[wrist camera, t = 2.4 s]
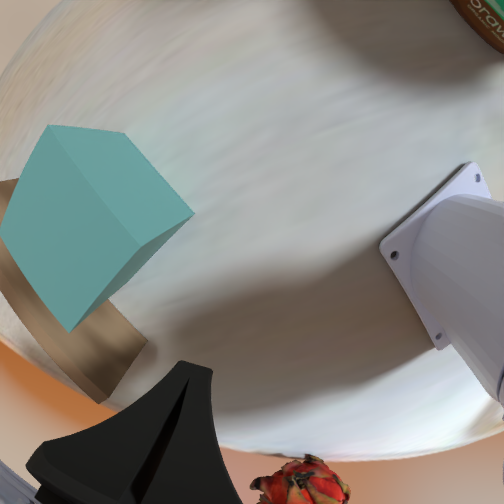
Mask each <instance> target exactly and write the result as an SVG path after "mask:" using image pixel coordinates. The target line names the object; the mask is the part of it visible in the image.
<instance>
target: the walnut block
mask: <svg viewBox="0 0 504 504" xmlns="http://www.w3.org/2000/svg"><path fill="white" fill-rule="evenodd" d="M18 180H19V178H17V179H12V180H6V181H1V182H0V226H1V223H2V221H3V218H4V215H5V212H6V209H7V207H8V204H9V202H10V199H11V197H12V194H13V192H14V189H15V187H16V185H17V182H18ZM0 291H1V292H2V294H3V295H4V297H5V298H6V300H7V301H8V303H9V304H10V306H11V307H12V309H13V310H14V312H15V313H16V315H17V316H18V317H19V319H20V320H21V321H22V323H23V324H24V325H25V327H26V328H27V329H28V331H29V332H30V333H31V334H32V336H33V337H34V338H35V339H36V341H37V342H38V343H39V344H40V346H41V347H42V348H43V349H44V350H45V351H46V353H47V354H48V355H49V356H50V357H51V358H52V359H53V360H54V362H55V363H56V364H57V365H58V366H59V367H60V368H61V369H62V370H63V371H64V372H65V373H66V374H67V375H68V376H69V377H70V378H71V379H72V380H73V381H74V382H75V383H76V384H77V385H78V386H79V387H80V388H81V389H82V390H83V391H84V392H85V393H86V394H87V395H88V396H90V397H91V398H92V399H93V400H94V401H95V402H96V403H97V404H100V403H101V402H103V401H104V400H106V399H107V398H109V397H110V395H111V394H112V392H113V391H114V389H115V388H116V386H117V385H118V383H119V382H120V380H121V379H122V377H123V376H124V374H125V373H126V371H127V370H128V368H129V367H130V365H131V364H132V362H133V361H134V359H135V358H136V357H137V355H138V354H139V352H140V351H141V349H142V348H143V346H144V345H145V344H146V342H147V341H148V340H147V339H145V338H144V337H143V336H142V335H141V334H140V333H139V332H138V331H137V330H136V329H135V328H134V327H133V326H132V325H131V323H130V322H129V321H128V320H127V319H126V318H125V317H124V316H123V315H122V314H121V313H120V312H119V311H118V310H117V309H116V308H115V307H114V305H113V304H112V303H111V302H110V301H109V300H108V299H107V300H106V301H105V302H104V303H102V304H101V305H100V306H99V307H98V308H97V309H96V310H95V311H93V312H92V313H91V314H90V315H89V316H88V317H87V318H86V319H85V320H83V321H82V322H81V323H80V324H79V325H78V326H77V327H76V328H75V329H74V330H72V331H71V332H70V333H68V332H67V331H66V329H65V328H64V327H63V326H62V325H61V324H60V322H59V321H58V320H57V319H56V318H55V316H54V315H53V314H52V313H51V311H50V310H49V309H48V308H47V306H46V305H45V304H44V302H43V301H42V300H41V298H40V297H39V296H38V294H37V293H36V292H35V290H34V289H33V287H32V286H31V285H30V283H29V282H28V280H27V279H26V277H25V276H24V274H23V273H22V271H21V270H20V268H19V267H18V265H17V264H16V262H15V260H14V259H13V257H12V255H11V254H10V252H9V250H8V249H7V247H6V245H5V244H4V242H3V240H2V238H1V236H0Z"/></svg>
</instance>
